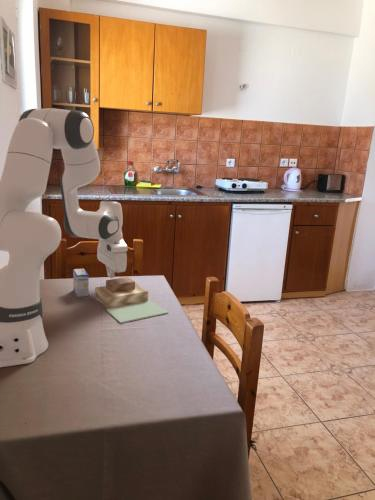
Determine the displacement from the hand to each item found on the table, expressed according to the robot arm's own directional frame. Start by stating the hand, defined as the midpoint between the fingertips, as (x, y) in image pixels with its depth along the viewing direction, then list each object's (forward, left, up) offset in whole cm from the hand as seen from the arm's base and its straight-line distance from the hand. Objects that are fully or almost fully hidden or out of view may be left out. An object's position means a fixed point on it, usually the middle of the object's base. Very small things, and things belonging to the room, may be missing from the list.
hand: (110, 276), depth 161 cm
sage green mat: (0, -23, -6) cm, 24 cm away
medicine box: (-11, +3, -6) cm, 13 cm away
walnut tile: (0, -9, -2) cm, 9 cm away
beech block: (0, -10, -6) cm, 12 cm away
